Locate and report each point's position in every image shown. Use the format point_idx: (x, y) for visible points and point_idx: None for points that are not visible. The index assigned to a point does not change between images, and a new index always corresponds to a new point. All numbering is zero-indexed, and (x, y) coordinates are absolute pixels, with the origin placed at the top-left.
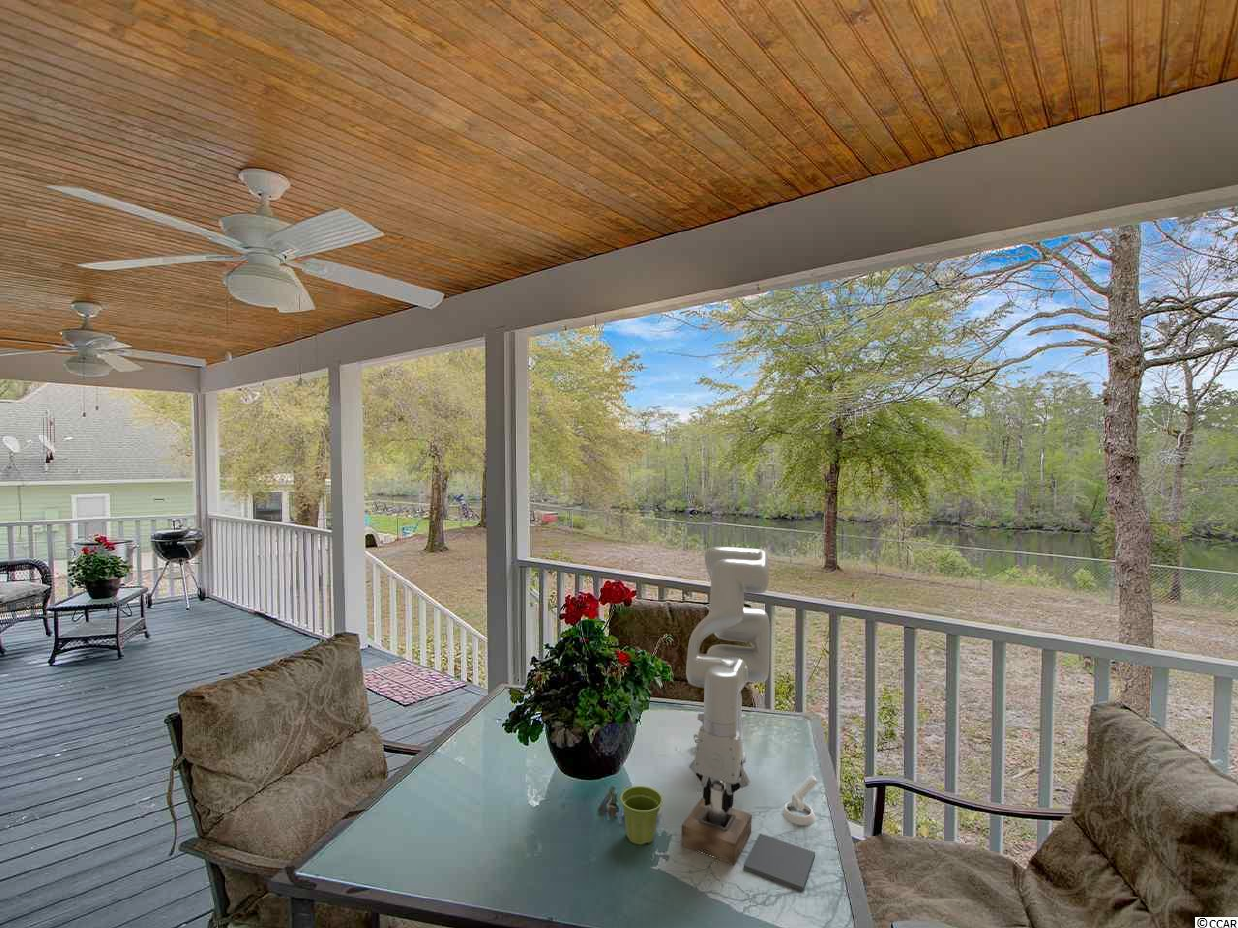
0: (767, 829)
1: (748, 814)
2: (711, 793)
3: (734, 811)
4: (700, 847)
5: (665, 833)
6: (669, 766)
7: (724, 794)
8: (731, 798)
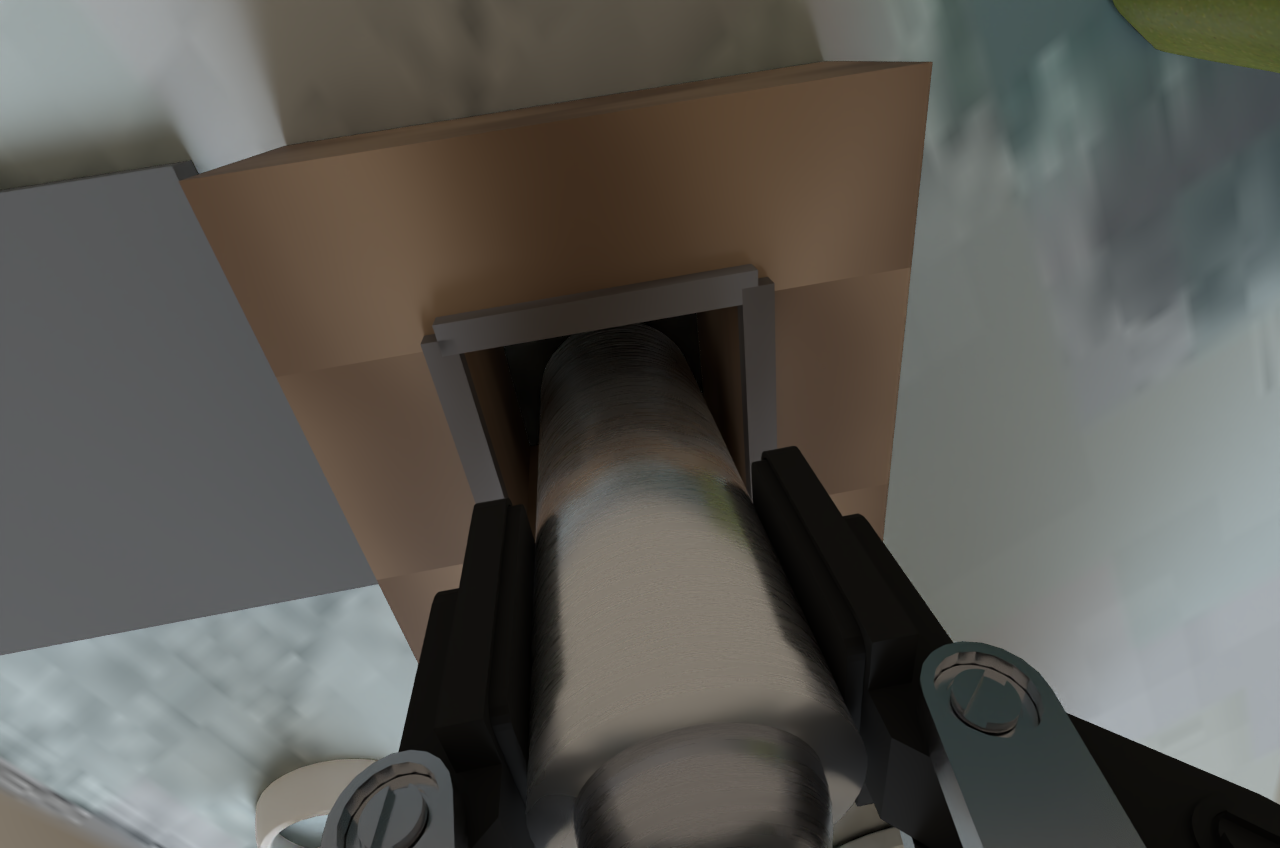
0: (397, 642)
1: None
2: (754, 605)
3: None
4: (635, 94)
5: (1005, 118)
6: (1125, 696)
7: (507, 714)
8: (416, 710)
